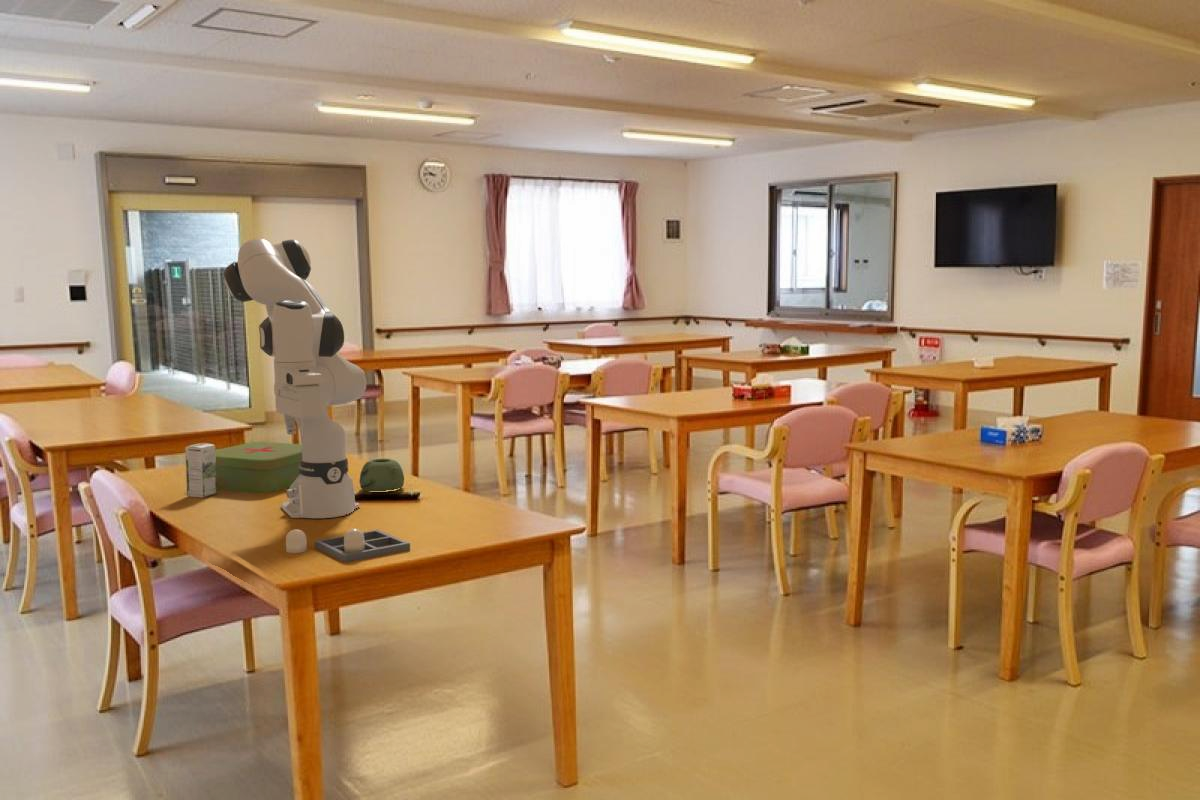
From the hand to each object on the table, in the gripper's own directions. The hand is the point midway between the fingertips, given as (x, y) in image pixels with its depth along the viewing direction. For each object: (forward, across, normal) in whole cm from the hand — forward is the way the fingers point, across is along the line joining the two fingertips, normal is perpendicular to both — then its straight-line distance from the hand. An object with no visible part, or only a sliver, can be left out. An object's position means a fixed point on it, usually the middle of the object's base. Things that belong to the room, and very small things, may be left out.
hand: (298, 436), depth 223 cm
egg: (+27, 0, -2) cm, 27 cm away
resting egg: (+26, +11, +8) cm, 29 cm away
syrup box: (+25, -75, -4) cm, 80 cm away
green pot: (+26, -52, +41) cm, 71 cm away
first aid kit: (+26, -84, +16) cm, 89 cm away
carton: (+27, +7, +11) cm, 30 cm away
